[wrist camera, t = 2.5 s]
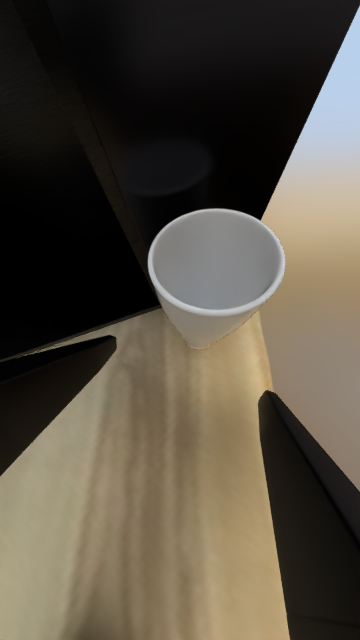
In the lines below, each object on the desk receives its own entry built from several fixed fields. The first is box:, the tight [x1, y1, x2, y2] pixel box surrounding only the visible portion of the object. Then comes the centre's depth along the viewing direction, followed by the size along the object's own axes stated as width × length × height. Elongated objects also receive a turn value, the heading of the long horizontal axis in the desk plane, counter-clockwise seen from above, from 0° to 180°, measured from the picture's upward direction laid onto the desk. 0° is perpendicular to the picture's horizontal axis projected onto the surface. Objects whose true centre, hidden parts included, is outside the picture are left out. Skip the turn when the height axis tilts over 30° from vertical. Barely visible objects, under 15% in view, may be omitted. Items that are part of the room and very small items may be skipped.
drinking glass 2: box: [148, 209, 286, 350], centre depth 14 cm, size 7×7×15 cm
